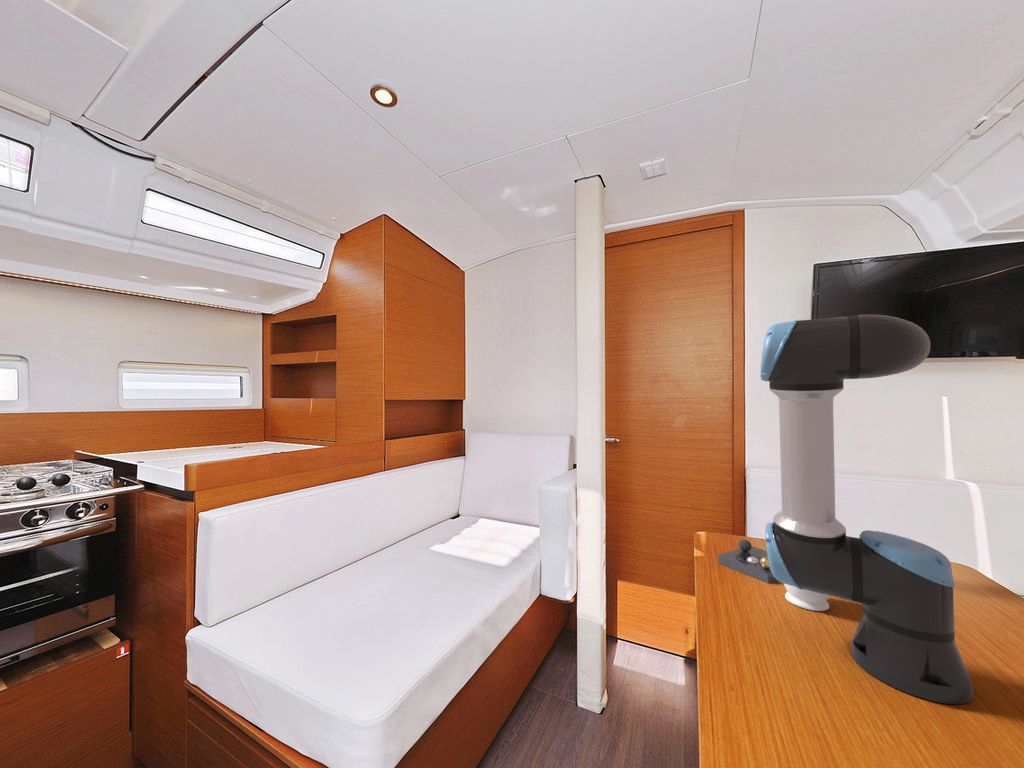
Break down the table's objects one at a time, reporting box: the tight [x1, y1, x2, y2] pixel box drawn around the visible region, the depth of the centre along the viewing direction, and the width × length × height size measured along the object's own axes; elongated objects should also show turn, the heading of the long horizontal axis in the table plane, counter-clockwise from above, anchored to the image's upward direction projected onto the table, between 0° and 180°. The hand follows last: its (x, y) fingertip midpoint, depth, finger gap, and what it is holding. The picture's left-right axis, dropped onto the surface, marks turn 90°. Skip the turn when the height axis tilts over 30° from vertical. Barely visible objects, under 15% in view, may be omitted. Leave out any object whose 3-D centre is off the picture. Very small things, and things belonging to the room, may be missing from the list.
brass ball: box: [760, 557, 770, 569], centre depth 106 cm, size 3×3×3 cm
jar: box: [783, 583, 831, 612], centre depth 93 cm, size 11×10×15 cm
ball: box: [746, 556, 759, 564], centre depth 112 cm, size 3×3×3 cm
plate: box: [717, 545, 778, 584], centre depth 113 cm, size 16×14×2 cm
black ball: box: [738, 539, 753, 552], centre depth 118 cm, size 3×3×3 cm
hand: (810, 477), depth 113 cm, fingers closed
